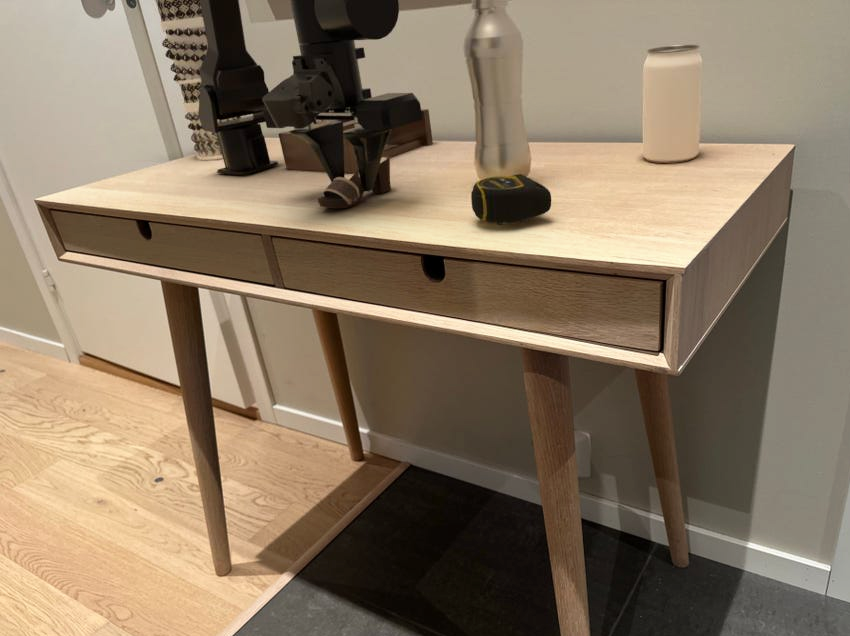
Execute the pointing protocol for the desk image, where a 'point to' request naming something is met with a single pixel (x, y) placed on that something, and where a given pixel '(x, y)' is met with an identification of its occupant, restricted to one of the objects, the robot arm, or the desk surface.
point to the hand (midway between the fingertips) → (353, 189)
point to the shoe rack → (304, 157)
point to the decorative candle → (189, 65)
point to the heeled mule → (354, 187)
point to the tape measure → (509, 199)
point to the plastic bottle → (497, 91)
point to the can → (672, 103)
